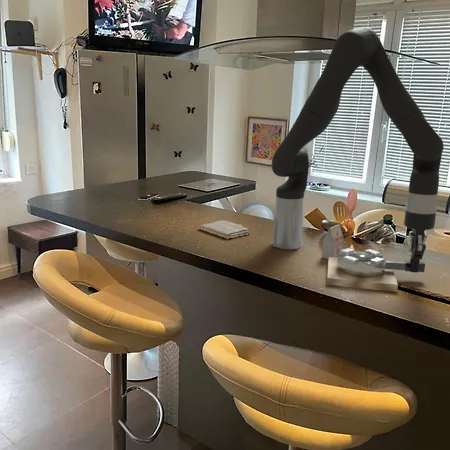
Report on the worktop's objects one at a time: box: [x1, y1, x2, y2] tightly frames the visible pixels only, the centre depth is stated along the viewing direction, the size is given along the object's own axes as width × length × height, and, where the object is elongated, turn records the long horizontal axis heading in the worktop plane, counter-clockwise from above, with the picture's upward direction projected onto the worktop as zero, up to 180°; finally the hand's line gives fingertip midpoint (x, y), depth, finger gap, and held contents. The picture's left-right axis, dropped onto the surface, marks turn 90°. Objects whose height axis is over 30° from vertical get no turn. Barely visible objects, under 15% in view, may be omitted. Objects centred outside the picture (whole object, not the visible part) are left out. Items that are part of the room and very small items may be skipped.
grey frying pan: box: [337, 247, 426, 277], centre depth 128 cm, size 24×13×4 cm, turn 83°
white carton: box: [321, 224, 344, 260], centre depth 146 cm, size 4×7×10 cm, turn 140°
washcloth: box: [199, 219, 250, 237], centre depth 172 cm, size 12×18×3 cm, turn 42°
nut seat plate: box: [326, 257, 399, 293], centre depth 130 cm, size 18×18×2 cm
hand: (413, 271), depth 125 cm, fingers closed
